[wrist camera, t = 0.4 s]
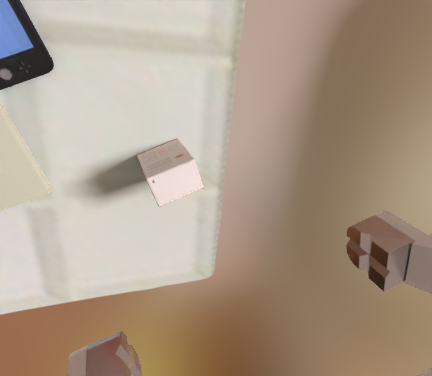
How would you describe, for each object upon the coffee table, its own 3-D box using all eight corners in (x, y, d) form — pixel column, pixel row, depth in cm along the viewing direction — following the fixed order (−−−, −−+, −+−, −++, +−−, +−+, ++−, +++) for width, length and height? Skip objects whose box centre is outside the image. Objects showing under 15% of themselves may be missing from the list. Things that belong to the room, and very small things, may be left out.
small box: (147, 180, 56) (158, 208, 47) (135, 153, 53) (144, 179, 44) (187, 163, 58) (204, 188, 49) (178, 137, 55) (194, 158, 46)
